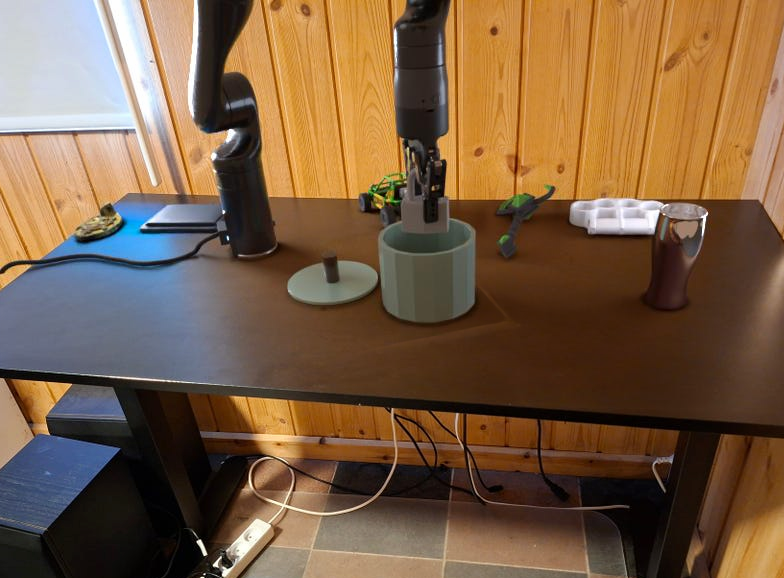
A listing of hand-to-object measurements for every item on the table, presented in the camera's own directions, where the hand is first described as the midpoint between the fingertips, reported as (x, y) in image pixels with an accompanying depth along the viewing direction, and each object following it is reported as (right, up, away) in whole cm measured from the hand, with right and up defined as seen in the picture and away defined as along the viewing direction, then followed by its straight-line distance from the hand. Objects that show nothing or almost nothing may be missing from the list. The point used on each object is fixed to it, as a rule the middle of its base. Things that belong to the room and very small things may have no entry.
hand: (425, 215), depth 98 cm
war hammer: (+21, +4, +31) cm, 37 cm away
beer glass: (+39, -13, +3) cm, 41 cm away
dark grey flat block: (-51, +10, +49) cm, 71 cm away
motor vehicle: (-3, +9, +42) cm, 43 cm away
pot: (+1, -13, +8) cm, 15 cm away
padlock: (0, -2, +1) cm, 3 cm away
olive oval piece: (-72, +8, +48) cm, 86 cm away
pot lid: (-15, -9, +15) cm, 23 cm away
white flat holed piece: (+40, +5, +30) cm, 50 cm away
